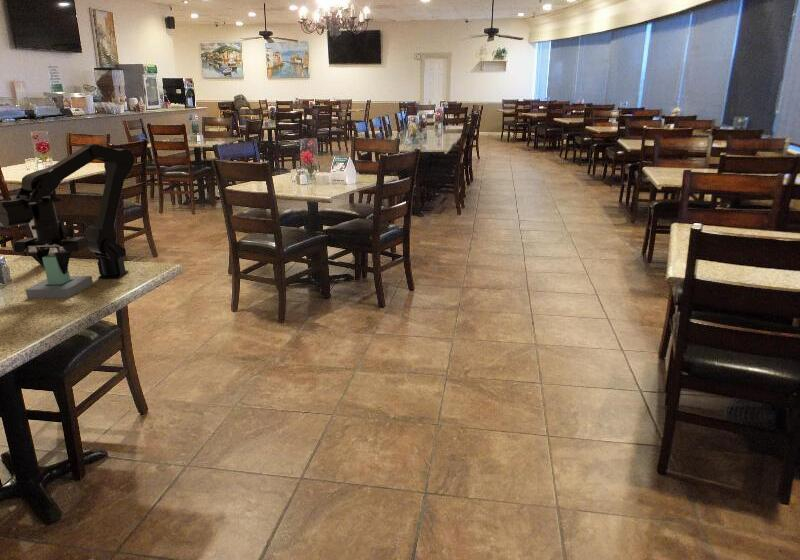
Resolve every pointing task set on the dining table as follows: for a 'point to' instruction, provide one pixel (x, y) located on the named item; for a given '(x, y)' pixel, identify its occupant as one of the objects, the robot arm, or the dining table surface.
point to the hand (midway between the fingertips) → (57, 273)
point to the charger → (54, 270)
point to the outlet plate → (59, 288)
